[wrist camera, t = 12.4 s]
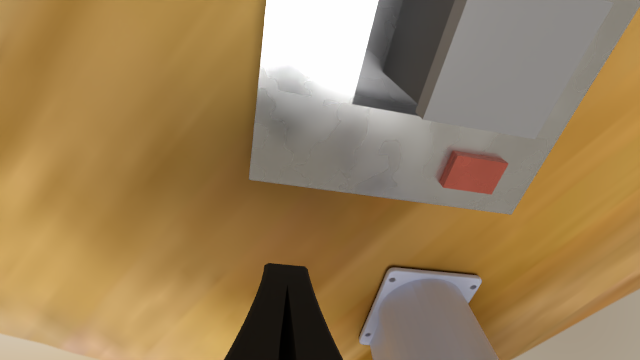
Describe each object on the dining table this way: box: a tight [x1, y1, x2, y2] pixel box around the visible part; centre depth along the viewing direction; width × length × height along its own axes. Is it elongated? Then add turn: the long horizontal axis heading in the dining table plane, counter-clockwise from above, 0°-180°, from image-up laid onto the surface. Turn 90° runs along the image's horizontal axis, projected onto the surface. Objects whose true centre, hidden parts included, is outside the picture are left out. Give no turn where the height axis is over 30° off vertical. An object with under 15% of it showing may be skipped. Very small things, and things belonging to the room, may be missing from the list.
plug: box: [383, 0, 614, 139], centre depth 13 cm, size 4×4×7 cm
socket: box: [249, 0, 640, 214], centre depth 16 cm, size 14×16×3 cm
